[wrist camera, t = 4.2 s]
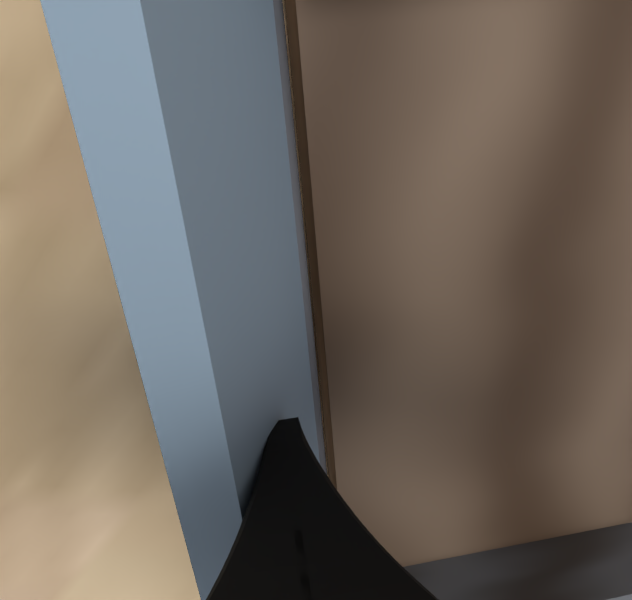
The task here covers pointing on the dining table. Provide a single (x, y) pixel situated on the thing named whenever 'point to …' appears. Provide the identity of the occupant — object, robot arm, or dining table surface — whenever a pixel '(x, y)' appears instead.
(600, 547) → the flatbed
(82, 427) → the dining table surface
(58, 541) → the dining table surface
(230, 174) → the bar
